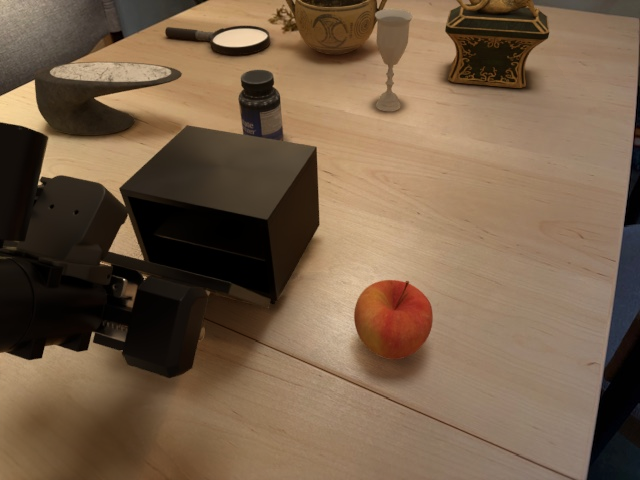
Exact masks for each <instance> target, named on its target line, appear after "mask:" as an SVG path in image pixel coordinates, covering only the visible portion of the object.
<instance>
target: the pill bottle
mask: <svg viewBox="0 0 640 480" xmlns="http://www.w3.org/2000/svg"><path fill="white" fill-rule="evenodd" d="M240 85H241V88H242V90H241V91H240V92H239V94H238V105H239V112H240V113H239V114H240V120H241V128H242V134H243V135H249V136H255V137H261V138H267V139H274V140H280V141H285V140H284V128H283V115H282V103H281V94H280V92H279V90H278V89H277V88H275V87H274V85H275V78H274V74H273V72H271V71H269V70H267V69H251V70H248V71H246V72H243V74H241V76H240Z"/></svg>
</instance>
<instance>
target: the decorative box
mask: <svg viewBox="0 0 640 480" xmlns="http://www.w3.org/2000/svg"><path fill="white" fill-rule="evenodd" d="M468 1H469V2H467V3H464V2H463V0H456V2H457V3H458V5H459V6H456V7H454V8H453V9H450V10H449V13H448V16H447V20H446V24H445V30H444V32H445V33H446V34H447V36H448V37H449V38H450V39H451V40H452V42H453V44H454V47H455V56H454V58H453V60H452V62H451V66H450V69H449V74H448V77H447V78H448V79H447V80H448V81H450V82H452V83H455V84H467V85H476V86H477V85H478V86H487V87H488V86H489V87H499V88H510V89H522V88H524V87H526V85H527V84H526V63H527V59H528V57H529V55H530V53H531V52H532V51H533V50H534V49H535V48H536V47H538V46H539V45H540V44H542V43H543V42H545V41H546V40H548V38H549V37H550V25H549V17H548V15H546V14H545V13H544V12H542V10H540V9H539V8H538V7H537V8H536V7H535V4H534V1H533V0H468Z"/></svg>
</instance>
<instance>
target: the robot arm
mask: <svg viewBox="0 0 640 480" xmlns="http://www.w3.org/2000/svg"><path fill="white" fill-rule="evenodd" d="M48 141H49V136H48V135H46V134H44V133H42V132H39V131H38V130H34V129H32V128H29V127H27V126H23V125H20V124H15V123H9V122H8V123H7V122H1V121H0V354H1V353H5V354H9V355H12V356H14V357H18V358H20V359H24V360H26V361H34V360H39V359H43V356H44V351H45V348H46V347H50V346H57V347H60V348H63V349H67V350H70V351H73V352H76V353H82V352H86V351H89V347H90V342H91V339H92V334H93V333H94V335H93V339H92V343H93V344H96V345H99V346H103V347H106V348H109V349H111V350H116V351H122V352H121V354H122V357H123V359H124V361H125V363H126V365H127V366H130V367H133V368H135V369H139V370H142V371H145V372H148V373H152V374H155V375H158V376H162V377H164V378H167V379H171V378H175V377H179V376H182V375H184V374H186V373H187V372H189V371H191V370H192V369H193V367H194V362H195V359H196V354H197V350H198V347H199V346H198V345H199V342H200V341H199V337H200V333H201V328H202V327H203V324H204V319H205V314H206V311H207V306H208V301H209V299H210V298H209V297H210V295H209V296H208V294H207V293H206V291H205V289H204V287H201V286H197V285H193V284H189V283H186V282H182V281H178V280H174V279H169V278H163V277H157V276H148V277H146V278H144V276H143V275H142V274H141V273H140V272H139V271H137V270H133V269H130V268H126V267H122V266H118V265H114V264H111V265H108V264H105V263H102V262H101V260H103V259H104V258H105V257H106V255H107V253H108V252H110V250H111V247H112V246H113V243H114V242H115V239H116V237H117V235H118V233H119V231H120V229H121V227H122V226H123V225H125V223H126V221H127V218H128V217H129V215H128V210H127V208H126V207H125V204H124V203H122V201H120V200H119V199H118V198H117V197H116V196H115V195H114V194H113V193H112V192H111V191H110V190H109V189H108V188H106V186H105V185H104V184H102V183H100V182H97V181H92V180H88V179H83V178H78V177H73V176H70V175H69V176H68V175H64V174H61V175H56V176H53V177H48V176H44V175H43V176H41V172H42V168H43V164H44V160H45V156H46V151H47V146H48ZM39 182H40V183H41V184H39Z"/></svg>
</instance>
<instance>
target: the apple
mask: <svg viewBox="0 0 640 480" xmlns="http://www.w3.org/2000/svg"><path fill="white" fill-rule="evenodd" d="M433 319H434V314H433V307H432V305H431V302H430V300H429V299H428V297H427V296H426V295H425V293H424V292H422V291H421V290H420V289H419V288H418V287H416V286H415V285H413V284H411V283H410V281H409V280H405V281H402V280H397V279H385V280H379V281H376V282H374V283H372V284H370V285H368V286H367V287H366V288H365V289H363V291H362V292H361V293H360V294H359V296H358V298H357V300H356V303H355V307H354V313H353V321H354V326H355V330H356V333H357V336H358V337H359V340H361V342H362V343H363V345H364V346H365V347H366V348H367V350H369V351H370V352H372V353H373V354H374V355H377V356H379V357H381V358H384V359H388V360H399V359H404V358H406V357H409V356H411V355H413V354H414V353H416V352H417V351H418V350H419V349H421V347H423V346H424V344H425V343H426V341H427V340H428V338H429V336H430V334H431V332H432V328H433V321H434V320H433Z"/></svg>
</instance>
